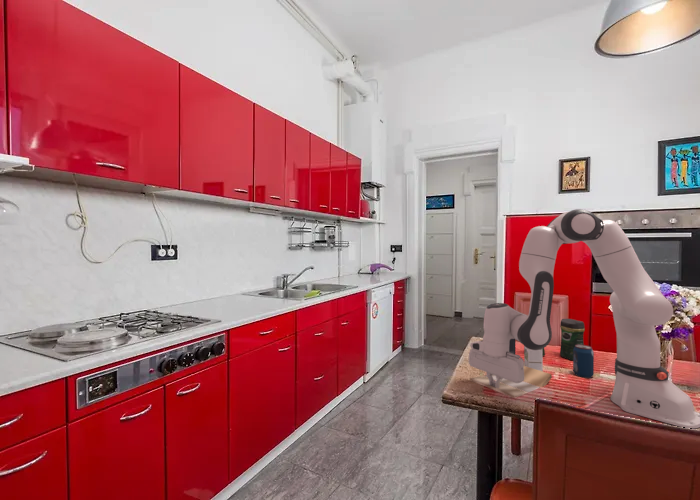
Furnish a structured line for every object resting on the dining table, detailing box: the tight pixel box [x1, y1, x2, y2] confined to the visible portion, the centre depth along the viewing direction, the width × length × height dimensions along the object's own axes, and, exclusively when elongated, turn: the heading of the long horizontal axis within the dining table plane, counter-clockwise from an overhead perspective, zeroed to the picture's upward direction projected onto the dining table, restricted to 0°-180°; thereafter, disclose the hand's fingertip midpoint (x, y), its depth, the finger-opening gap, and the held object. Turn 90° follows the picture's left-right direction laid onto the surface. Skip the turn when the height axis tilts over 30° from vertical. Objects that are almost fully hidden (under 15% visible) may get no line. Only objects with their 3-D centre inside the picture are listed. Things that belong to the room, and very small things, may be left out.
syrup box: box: [523, 345, 544, 372], centre depth 142 cm, size 6×6×14 cm
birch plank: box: [469, 375, 529, 399], centre depth 123 cm, size 18×8×2 cm, turn 32°
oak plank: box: [523, 366, 553, 388], centre depth 132 cm, size 18×8×2 cm, turn 32°
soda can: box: [572, 344, 595, 379], centre depth 138 cm, size 7×7×12 cm
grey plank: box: [484, 374, 541, 393], centre depth 128 cm, size 18×8×2 cm, turn 33°
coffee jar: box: [559, 318, 586, 361], centre depth 160 cm, size 10×8×19 cm
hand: (494, 386), depth 121 cm, fingers closed, pressing on birch plank
